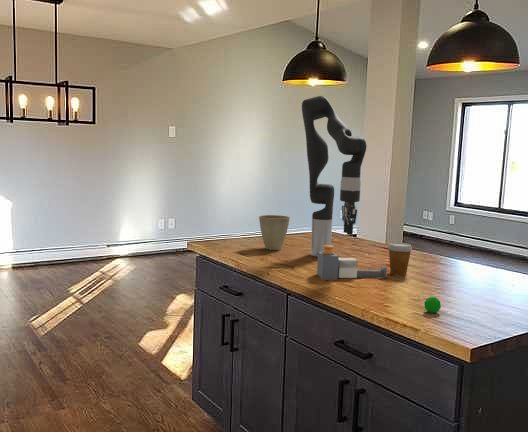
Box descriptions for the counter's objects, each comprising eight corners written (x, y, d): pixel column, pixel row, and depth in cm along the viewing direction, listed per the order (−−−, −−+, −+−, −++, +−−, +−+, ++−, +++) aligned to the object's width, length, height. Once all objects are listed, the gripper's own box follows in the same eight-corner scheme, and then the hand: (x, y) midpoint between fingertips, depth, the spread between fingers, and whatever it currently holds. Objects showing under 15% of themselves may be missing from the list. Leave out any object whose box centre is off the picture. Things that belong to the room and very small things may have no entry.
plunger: (321, 256, 221) (321, 244, 220) (332, 256, 221) (332, 245, 221) (323, 258, 216) (324, 246, 216) (334, 258, 217) (335, 246, 216)
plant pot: (294, 248, 279) (295, 216, 277) (278, 253, 266) (279, 219, 264) (268, 245, 287) (269, 213, 285) (252, 249, 274) (253, 216, 272)
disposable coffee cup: (411, 272, 233) (413, 243, 231) (409, 277, 224) (411, 247, 222) (387, 270, 236) (389, 241, 234) (384, 274, 227) (386, 245, 225)
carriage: (335, 274, 223) (336, 257, 222) (352, 274, 224) (353, 257, 223) (338, 277, 218) (339, 260, 217) (356, 277, 219) (357, 260, 218)
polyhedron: (423, 309, 178) (424, 294, 178) (440, 311, 177) (441, 296, 176) (423, 313, 174) (424, 298, 173) (440, 315, 172) (441, 300, 172)
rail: (333, 275, 222) (334, 265, 221) (383, 276, 224) (383, 266, 224) (335, 277, 219) (335, 267, 218) (385, 277, 221) (386, 267, 221)
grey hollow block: (317, 273, 224) (317, 251, 223) (331, 274, 225) (332, 251, 224) (322, 279, 215) (323, 255, 214) (337, 279, 216) (338, 256, 215)
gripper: (336, 187, 223) (334, 230, 225) (345, 190, 209) (343, 236, 211) (354, 187, 224) (352, 230, 226) (365, 190, 210) (362, 236, 212)
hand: (348, 233), depth 219 cm, fingers open, 3 cm apart
